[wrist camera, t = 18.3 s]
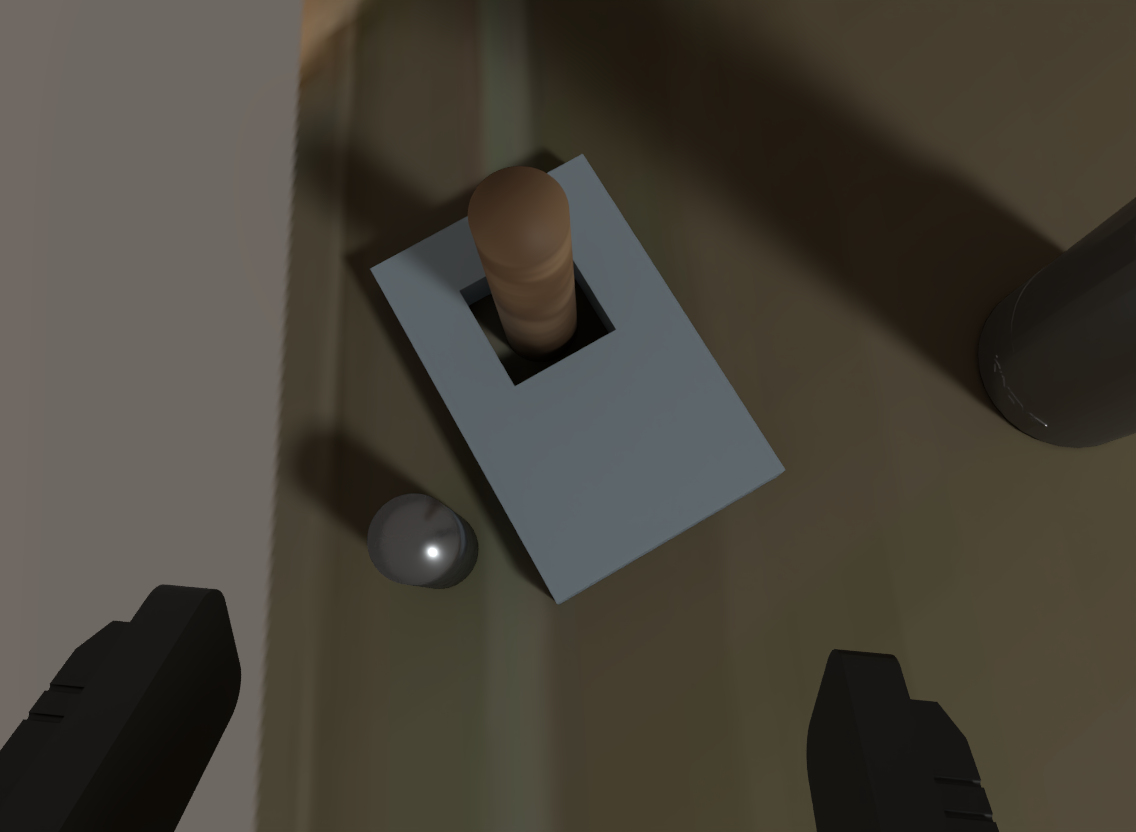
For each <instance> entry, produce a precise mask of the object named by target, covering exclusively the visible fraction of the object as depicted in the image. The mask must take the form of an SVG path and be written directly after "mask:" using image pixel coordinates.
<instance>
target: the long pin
mask: <svg viewBox="0 0 1136 832" xmlns="http://www.w3.org/2000/svg"><path fill="white" fill-rule="evenodd" d="M468 223H469V227H470V230H471V233H472V236H473V239H474V242H475V245H476V248H477V251H478V254H479V257H480V260H481V263H482V266H483V269H484V272H485V275H486V278H487V281H488V284H489V287H490V290H491V293H492V296H493V299H494V302H495V305H496V308H497V311H498V314H499V317H500V320H501V323H502V326H503V329H504V332H505V335H506V338H507V341H508V343H509V345H510V346H511V348H512V349H513V350H514V351H515V352H516V353H517V354H518V355H520V356H522V357H523V358H525V359H528V360H531V361H537V362H544V361H550V360H553V359H556V358H558V357H560V356H561V355H563V354H564V353H565V352H566V351H567V350H568V349H569V348H570V347H571V346H572V344H573V342H574V340H575V338H576V335H577V328H578V324H577V310H576V296H575V282H574V268H573V255H572V241H571V227H570V213H569V203H568V199H567V197H566V194H565V192H564V190H563V188H562V187H561V186H560V184H559V183H558V182H557V181H556V180H555V179H554V178H553V177H551V176H550V175H549V174H547V173H545V172H543V171H541V170H539V169H536V168H532V167H526V166H514V167H508V168H504V169H501V170H499V171H496V172H494V173H493V174H491V175H489V176H488V177H487V178H485V179H484V180H483V181H482V182H481V183H480V184H479V185H478V187H477V188H476V189H475V191H474V193H473V195H472V197H471V199H470V202H469V206H468Z"/></svg>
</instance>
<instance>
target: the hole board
mask: <svg viewBox="0 0 1136 832" xmlns="http://www.w3.org/2000/svg"><path fill="white" fill-rule="evenodd" d="M547 174H549V175H550V176H551V177H553V178H554V179H555V180H556V181H557V182H558V183H559V184H560V186H561V187H562V188H563V190H564V192H565V194H566V197H567V199H568V203H569V213H570V227H571V241H572V255H573V268H574V278H575V279H576V281H577V283H578V284H579V286H580V287H581V289H582V291H583V292H584V294H585V296H586V297H587V299H588V300H589V302H590V304H591V305H592V307H593V309H594V310H595V312H596V313H597V315H598V317H599V318H600V320H601V322H602V323H603V325H604V326H605V328H606V330H607V331H608V333H609V334H607V335H606V336H604V337H602V338H600V339H598V340H597V341H595V342H593V343H591V344H589V345H588V346H586V347H584V348H582V349H581V350H579V351H577V352H575V353H573V354H572V355H570V356H568V357H566V358H565V359H563V360H561V361H559V362H557V363H556V364H554V365H552V366H550V367H548V368H547V369H545V370H543V371H541V372H540V373H538V374H536V375H534V376H532V377H531V378H529V379H527V380H525V381H524V382H522V383H520V384H518V385H516V386H514V384H513V383H512V381H511V379H510V377H509V376H508V374H507V372H506V371H505V369H504V367H503V365H502V364H501V362H500V360H499V358H498V357H497V355H496V353H495V352H494V350H493V348H492V346H491V345H490V343H489V341H488V339H487V338H486V336H485V334H484V333H483V331H482V329H481V327H480V326H479V324H478V322H477V321H476V319H475V317H474V315H473V314H472V312H471V310H470V308H469V307H468V306H469V305H471V304H473V303H474V302H476V301H478V300H480V299H482V298H484V297H485V296H487V295H489V294H491V290H490V287H489V284H488V281H487V278H486V275H485V272H484V269H483V266H482V263H481V260H480V257H479V254H478V251H477V248H476V245H475V242H474V239H473V236H472V233H471V230H470V227H469V223H468V216H467V217H465V218H463V219H461V220H459V221H458V222H456V223H454V224H452V225H450V226H448V227H446V228H445V229H443V230H441V231H439V232H437V233H435V234H433V235H432V236H430V237H428V238H426V239H424V240H422V241H421V242H419V243H417V244H415V245H413V246H411V247H409V248H408V249H406V250H404V251H402V252H400V253H398V254H396V255H395V256H393V257H391V258H389V259H387V260H385V261H384V262H382V263H380V264H378V265H376V266H374V267H372V268H371V269H370V270H371V271H372V273H373V275H374V277H375V278H376V280H377V282H378V284H379V286H380V287H381V289H382V291H383V293H384V295H385V296H386V298H387V300H388V302H389V304H390V305H391V307H392V309H393V311H394V313H395V314H396V316H397V318H398V320H399V322H400V323H401V325H402V327H403V329H404V330H405V332H406V334H407V336H408V338H409V339H410V341H411V343H412V345H413V347H414V348H415V350H416V352H417V354H418V356H419V357H420V359H421V361H422V363H423V365H424V366H425V368H426V370H427V372H428V374H429V375H430V377H431V379H432V381H433V382H434V384H435V386H436V388H437V390H438V391H439V393H440V395H441V397H442V399H443V400H444V402H445V404H446V406H447V408H448V409H449V411H450V413H451V415H452V417H453V418H454V420H455V422H456V424H457V426H458V427H459V429H460V431H461V433H462V434H463V436H464V438H465V440H466V442H467V443H468V445H469V447H470V449H471V451H472V452H473V454H474V456H475V458H476V460H477V461H478V463H479V465H480V467H481V469H482V470H483V472H484V474H485V476H486V478H487V479H488V481H489V483H490V485H491V486H492V488H493V490H494V492H495V494H496V495H497V497H498V499H499V501H500V503H501V504H502V506H503V508H504V510H505V512H506V513H507V515H508V517H509V519H510V521H511V522H512V524H513V526H514V528H515V530H516V531H517V533H518V535H519V537H520V539H521V540H522V542H523V544H524V546H525V547H526V549H527V551H528V553H529V555H530V556H531V558H532V560H533V562H534V564H535V565H536V567H537V569H538V571H539V573H540V574H541V576H542V578H543V580H544V582H545V583H546V585H547V587H548V589H549V591H550V592H551V594H552V596H553V598H554V599H555V601H556V603H557V604H561V603H563V602H564V601H566V600H568V599H569V598H571V597H573V596H575V595H576V594H578V593H580V592H581V591H583V590H585V589H586V588H588V587H590V586H592V585H593V584H595V583H597V582H598V581H600V580H602V579H604V578H605V577H607V576H609V575H610V574H612V573H614V572H615V571H617V570H619V569H621V568H622V567H624V566H626V565H627V564H629V563H631V562H632V561H634V560H636V559H638V558H639V557H641V556H643V555H644V554H646V553H648V552H650V551H651V550H653V549H655V548H656V547H658V546H660V545H661V544H663V543H665V542H667V541H668V540H670V539H672V538H673V537H675V536H677V535H679V534H680V533H682V532H684V531H685V530H687V529H689V528H690V527H692V526H694V525H696V524H697V523H699V522H701V521H702V520H704V519H706V518H707V517H709V516H711V515H713V514H714V513H716V512H718V511H719V510H721V509H723V508H725V507H726V506H728V505H730V504H731V503H733V502H735V501H736V500H738V499H740V498H742V497H743V496H745V495H747V494H748V493H750V492H752V491H754V490H755V489H757V488H759V487H760V486H762V485H764V484H765V483H767V482H769V481H771V480H772V479H774V478H776V477H777V476H778V475H780V474H781V473H782V472H783V471H785V469H784V467H783V465H782V464H781V462H780V461H779V459H778V458H777V456H776V455H775V453H774V451H773V450H772V448H771V447H770V445H769V444H768V442H767V440H766V439H765V437H764V436H763V434H762V433H761V431H760V430H759V428H758V426H757V425H756V423H755V422H754V420H753V419H752V417H751V416H750V414H749V412H748V411H747V409H746V408H745V406H744V405H743V403H742V402H741V400H740V398H739V397H738V395H737V394H736V392H735V391H734V389H733V387H732V386H731V384H730V383H729V381H728V380H727V378H726V377H725V375H724V373H723V372H722V370H721V369H720V367H719V366H718V364H717V363H716V361H715V359H714V358H713V356H712V355H711V353H710V352H709V350H708V348H707V347H706V345H705V344H704V342H703V341H702V339H701V338H700V336H699V334H698V333H697V331H696V330H695V328H694V327H693V325H692V324H691V322H690V320H689V319H688V317H687V316H686V314H685V313H684V311H683V309H682V308H681V306H680V305H679V303H678V302H677V300H676V299H675V297H674V295H673V294H672V292H671V291H670V289H669V288H668V286H667V285H666V283H665V281H664V280H663V278H662V277H661V275H660V274H659V272H658V271H657V269H656V267H655V266H654V264H653V263H652V261H651V260H650V258H649V256H648V255H647V253H646V252H645V250H644V249H643V247H642V246H641V244H640V242H639V241H638V239H637V238H636V236H635V235H634V233H633V232H632V230H631V228H630V227H629V225H628V224H627V222H626V221H625V219H624V217H623V216H622V214H621V213H620V211H619V210H618V208H617V207H616V205H615V203H614V202H613V200H612V199H611V197H610V196H609V194H608V193H607V191H606V189H605V188H604V186H603V185H602V183H601V182H600V180H599V178H598V177H597V175H596V174H595V172H594V171H593V169H592V168H591V166H590V164H589V163H588V161H587V160H586V158H585V157H584V155H583V154H582V155H580V156H578V157H576V158H574V159H572V160H570V161H569V162H567V163H565V164H563V165H561V166H559V167H557V168H556V169H554V170H552V171H550V172H548V173H547Z"/></svg>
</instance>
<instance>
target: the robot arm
mask: <svg viewBox="0 0 1136 832" xmlns="http://www.w3.org/2000/svg"><path fill="white" fill-rule="evenodd" d="M978 360H979V370H980V374H981V377H982V380H983V383H984V386H985V389H986V391H987V393H988V394H989V396H990V398H991V400H992V401H993V403H994V405H995V406H996V407H997V408H998V410H999V411H1000V412H1001V413H1002V414H1003V415H1004V416H1005V418H1006V419H1007V420H1008V421H1010V422H1011V423H1012V424H1014V425H1015V426H1016V427H1017V428H1019V429H1020V430H1021V431H1022V432H1024V433H1026V434H1028V435H1030V436H1032V437H1034V438H1036V439H1038V440H1040V441H1043V442H1046V443H1050V444H1053V445H1057V446H1063V447H1074V448H1082V447H1090V446H1098V445H1101V444H1104V443H1107V442H1110V441H1113V440H1116V439H1119V438H1122V437H1125V436H1128V435H1131V434H1134V433H1136V197H1135V198H1134V199H1133V200H1132V201H1130V202H1129V203H1128V204H1126V205H1125V206H1124V207H1122V208H1121V209H1120V210H1119V211H1117V212H1116V213H1115V214H1113V215H1112V216H1111V217H1109V218H1108V219H1107V220H1106V221H1104V222H1103V223H1102V224H1100V225H1099V226H1098V227H1097V228H1095V229H1094V230H1093V231H1091V232H1090V233H1089V234H1087V235H1086V236H1085V237H1084V238H1082V239H1081V240H1080V241H1078V242H1077V243H1076V244H1074V245H1073V246H1072V247H1071V248H1069V249H1068V250H1067V251H1065V252H1064V253H1063V254H1062V255H1060V256H1059V257H1058V258H1056V259H1055V260H1054V261H1052V262H1051V263H1050V264H1049V265H1047V266H1046V267H1044V268H1043V269H1042V270H1040V271H1039V272H1038V273H1036V274H1035V275H1034V276H1033V277H1031V278H1030V279H1029V280H1027V281H1026V282H1025V283H1024V284H1022V285H1021V286H1020V287H1018V288H1017V289H1016V290H1015V291H1013V292H1012V293H1011V294H1009V295H1008V296H1007V297H1006V298H1005V299H1004V300H1003V301H1002V302H1000V303H999V304H998V305H997V306H996V307H995V308H994V310H993V311H992V313H991V314H990V316H989V317H988V319H987V320H986V322H985V325H984V328H983V330H982V333H981V336H980V341H979V349H978ZM240 684H241V667H240V662H239V658H238V653H237V649H236V645H235V640H234V636H233V632H232V628H231V624H230V619H229V615H228V611H227V606H226V602H225V598H224V596H223V594H222V593H221V591H219V590H217V589H207V588H195V587H185V586H175V585H159V586H158V587H156V588H155V589H154V590H153V591H152V592H151V593H150V594H149V596H148V597H147V598H146V600H145V601H144V603H143V604H142V606H141V607H140V609H139V610H138V611H137V613H136V614H135V616H134V617H133V619H132V620H131V621H130V622H122V621H112V622H111V623H109V624H108V625H107V626H105V627H104V628H103V629H101V630H100V631H99V632H97V633H96V634H95V635H93V636H92V637H91V638H90V639H88V640H87V641H86V642H84V643H83V644H82V645H80V646H79V647H78V648H76V649H75V651H74V652H73V653H72V655H71V656H70V657H69V659H68V660H67V661H66V663H65V664H64V665H63V667H62V668H61V670H60V671H59V672H58V673H57V675H56V676H55V678H54V679H53V680H52V682H51V683H50V688H49V690H48V691H44V693H43V694H42V695H41V696H40V698H39V699H38V700H37V702H36V703H35V705H34V706H33V707H32V709H31V710H30V711H29V717H28V719H27V720H23V721H22V722H21V724H20V725H19V726H18V727H17V729H16V730H15V732H14V733H13V734H12V736H11V737H10V738H9V740H8V741H7V742H6V744H5V745H4V746H3V748H2V749H1V750H0V832H174V831H175V829H176V827H177V825H178V823H179V821H180V819H181V817H182V815H183V813H184V811H185V809H186V807H187V805H188V803H189V801H190V799H191V797H192V795H193V793H194V791H195V789H196V787H197V785H198V783H199V781H200V779H201V777H202V775H203V772H204V771H205V769H206V767H207V765H208V763H209V761H210V759H211V757H212V755H213V753H214V751H215V749H216V747H217V745H218V743H219V741H220V739H221V737H222V734H223V733H224V731H225V729H226V727H227V725H228V723H229V721H230V719H231V716H232V715H233V712H234V709H235V707H236V704H237V700H238V696H239V692H240ZM807 771H808V779H809V785H810V791H811V797H812V803H813V810H814V816H815V822H816V828H817V832H999V830H998V827H997V824H996V822H993V820H992V814H993V813H992V810H991V807H990V804H989V802H988V799H987V796H986V793H985V790H984V788H981V785H980V781H981V779H980V776H979V773H978V770H977V767H976V764H975V762H974V759H973V756H972V753H971V750H970V747H969V744H968V742H967V739H966V737H965V736H964V735H963V734H962V732H961V731H960V730H959V729H958V727H957V726H956V725H955V724H954V722H953V721H952V720H951V719H950V717H949V716H948V715H947V714H946V712H945V711H944V710H943V709H942V707H941V706H940V705H939V704H938V702H932V701H922V700H912V699H910V697H909V694H908V690H907V687H906V684H905V680H904V677H903V674H902V670H901V667H900V664H899V662H898V660H897V658H896V657H895V656H894V655H891V654H881V653H870V652H859V651H849V650H838V649H834V650H832V652H831V653H830V655H829V658H828V661H827V664H826V668H825V671H824V675H823V678H822V682H821V685H820V689H819V692H818V696H817V699H816V703H815V706H814V710H813V713H812V717H811V720H810V724H809V729H808V736H807Z"/></svg>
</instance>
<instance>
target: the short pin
mask: <svg viewBox="0 0 1136 832" xmlns="http://www.w3.org/2000/svg"><path fill="white" fill-rule="evenodd" d="M367 546H368V552H369V555H370V558H371V560H372V562H373V564H374V565H375V567H376V568H377V569H378V571H379V572H380V573H382V574H383V575H384V576H385V577H387V578H388V579H390V580H392V581H395V582H397V583H401V584H407V585H413V586H420V587H426V588H433V589H444V588H449V587H452V586H455V585H457V584H459V583H460V582H462V581H463V580H464V579H465V578H466V577H467V576H468V575H469V574H470V573H471V571H472V570H473V568H474V566H475V564H476V561H477V557H478V541H477V537H476V534H475V532H474V530H473V528H472V527H471V526H470V524H469V523H468V522H467V521H466V520H465V519H463V518H462V517H460V516H459V515H458V514H456V513H455V512H453V511H452V510H451V509H449V508H448V507H446V506H445V505H443V504H442V503H441V502H439V501H438V500H436V499H434V498H432V497H430V496H427V495H423V494H416V493H412V494H405V495H401V496H398V497H395V498H393V499H391V500H390V501H388V502H387V503H385V504H384V505H383V506H382V507H381V508H380V509H379V510H378V511H377V513H376V514H375V516H374V517H373V519H372V521H371V524H370V526H369V530H368V536H367Z"/></svg>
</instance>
